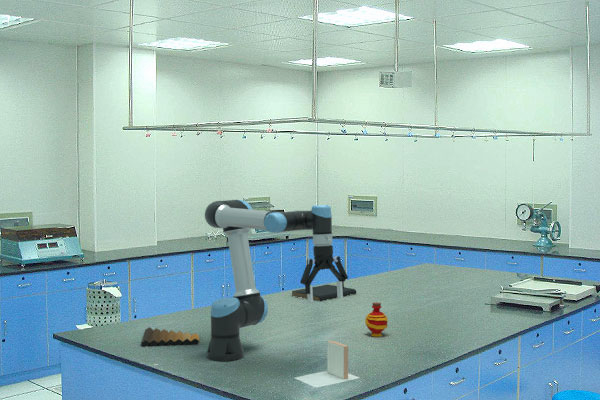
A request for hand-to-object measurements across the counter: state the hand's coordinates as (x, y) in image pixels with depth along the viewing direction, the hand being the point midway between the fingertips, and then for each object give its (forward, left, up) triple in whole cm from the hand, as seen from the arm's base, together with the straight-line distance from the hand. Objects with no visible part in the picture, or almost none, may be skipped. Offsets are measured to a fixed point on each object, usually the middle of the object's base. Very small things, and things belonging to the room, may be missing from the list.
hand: (325, 300), depth 261 cm
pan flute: (-14, -82, -27) cm, 88 cm away
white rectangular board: (+12, +6, -27) cm, 30 cm away
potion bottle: (-59, +1, -27) cm, 64 cm away
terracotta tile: (+8, +8, -26) cm, 29 cm away
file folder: (-143, -61, -27) cm, 158 cm away
